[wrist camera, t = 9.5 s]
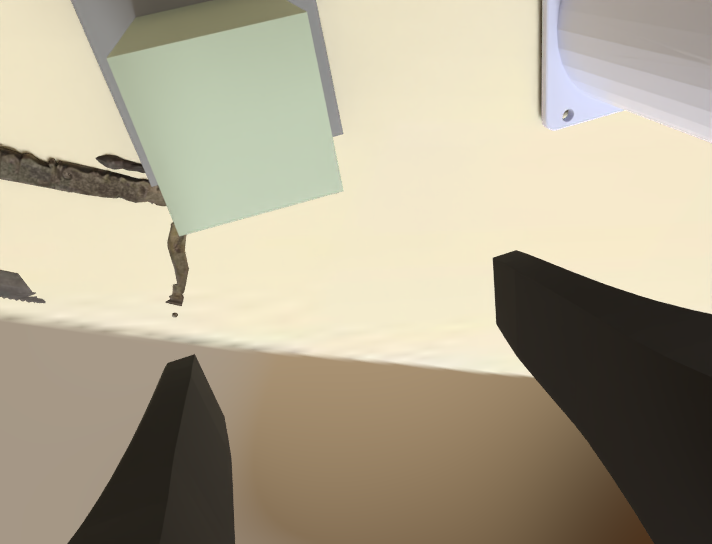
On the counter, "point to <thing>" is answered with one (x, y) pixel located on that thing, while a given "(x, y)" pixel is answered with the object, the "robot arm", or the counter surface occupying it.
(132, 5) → the rack plate
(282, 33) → the peg
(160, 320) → the counter surface
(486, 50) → the counter surface
